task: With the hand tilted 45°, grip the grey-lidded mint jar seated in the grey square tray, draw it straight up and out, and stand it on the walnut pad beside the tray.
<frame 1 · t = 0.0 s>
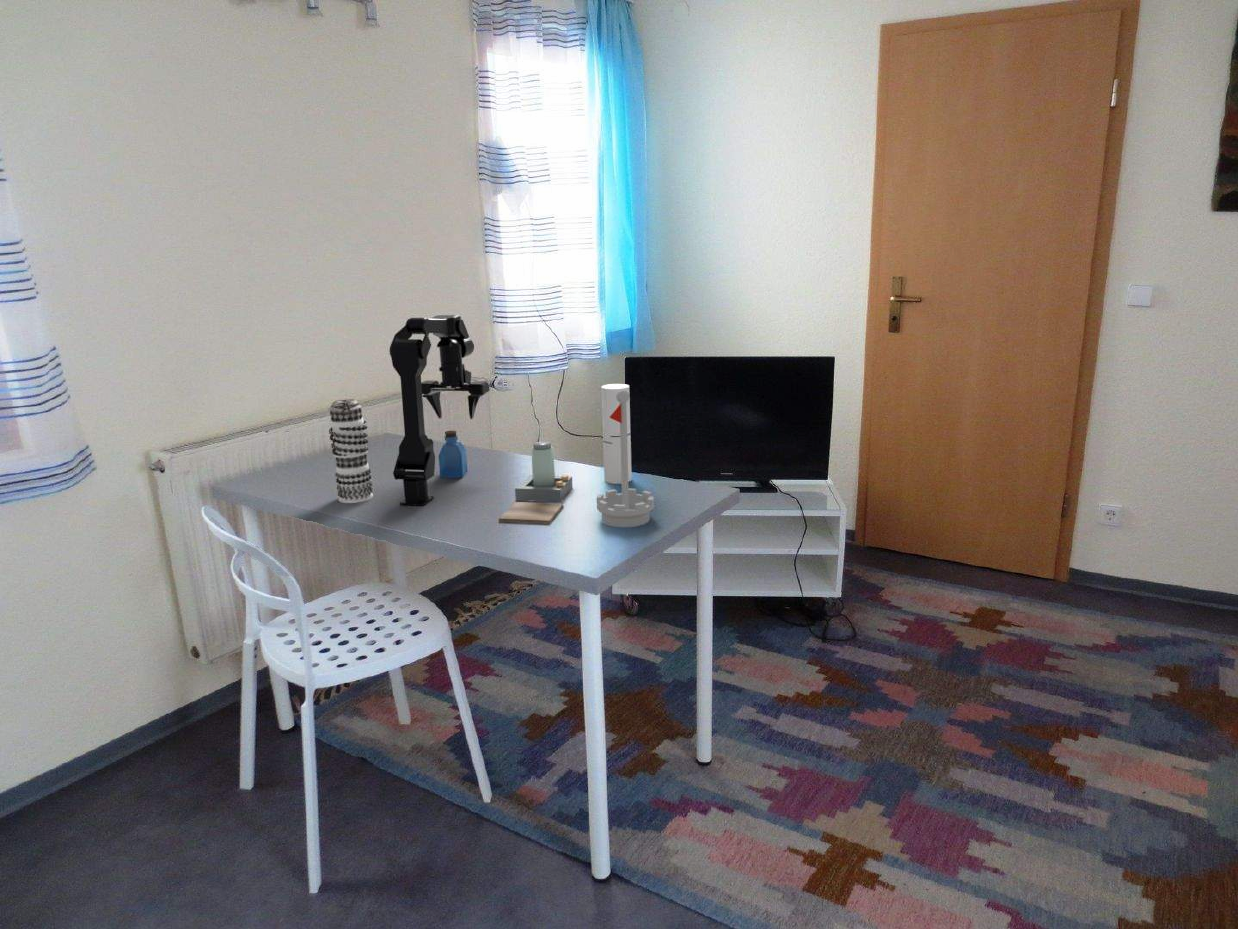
hand: (455, 418, 234), 15 cm above the table, tool pointing down, fingers open, 9 cm apart
cylindrical container: (618, 480, 225), on the table
flag stand: (625, 520, 195), on the table
grey-lidded mint jar: (544, 493, 215), resting in grey square tray
walnut pad: (532, 514, 200), on the table
perfume bottle: (454, 475, 234), on the table
decorative candle: (356, 498, 216), on the table
grey square tray: (544, 493, 215), on the table
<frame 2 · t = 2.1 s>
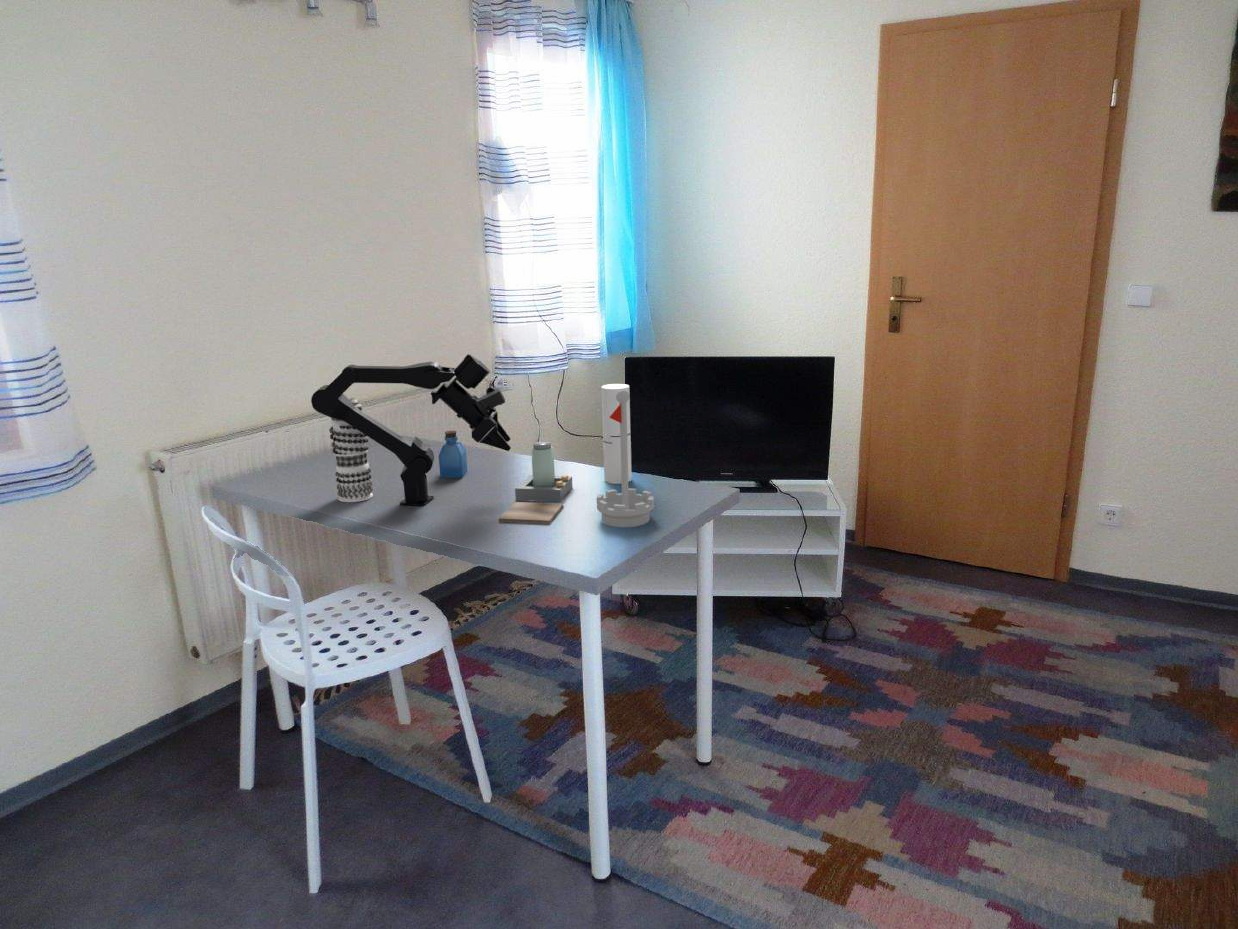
hand: (509, 444, 211), 13 cm above the table, tool tilted 45°, fingers open, 9 cm apart
decorative candle: (356, 498, 216), on the table, touching arm
everything else where it was.
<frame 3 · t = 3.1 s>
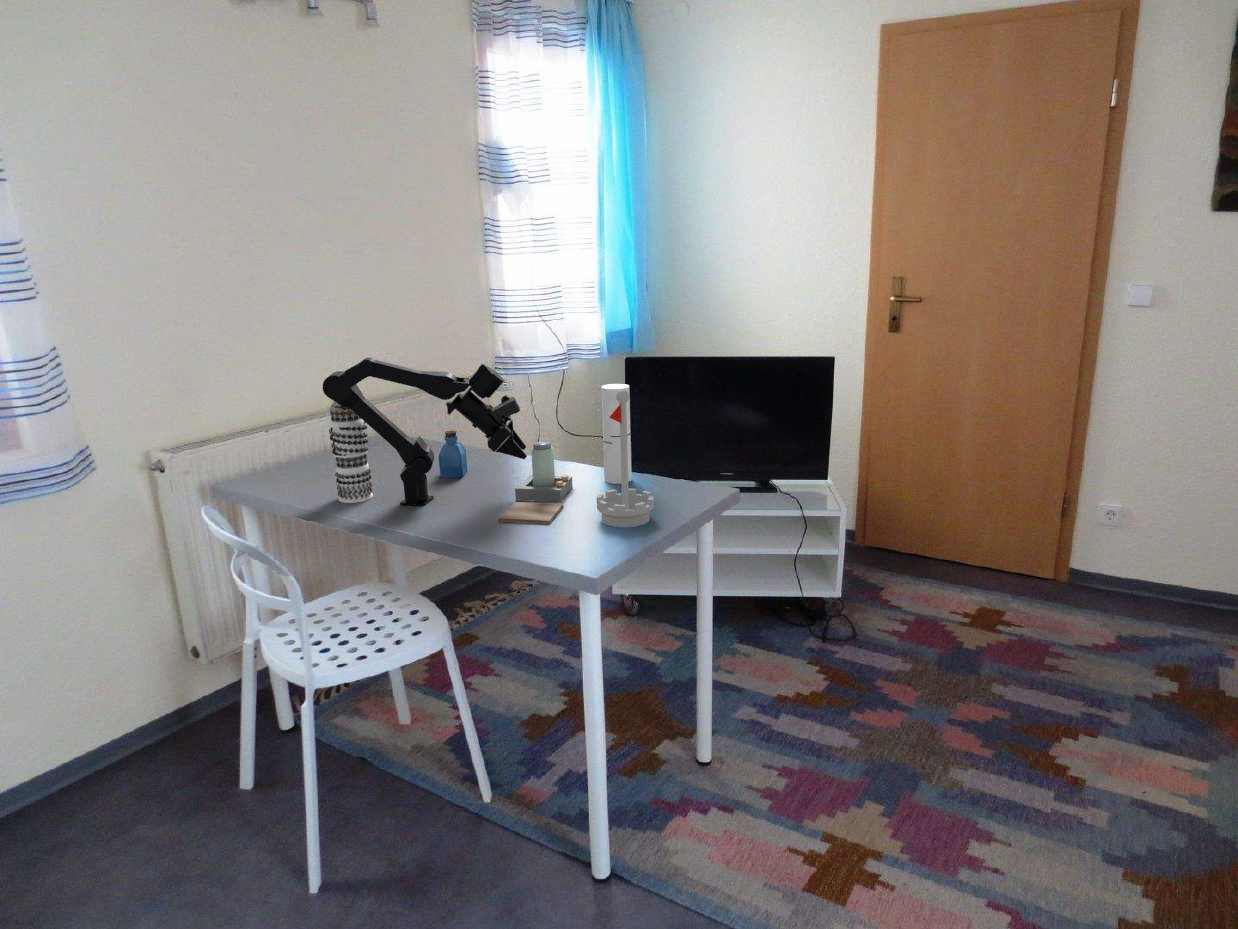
hand: (525, 452, 212), 11 cm above the table, tool tilted 45°, fingers open, 9 cm apart
decorative candle: (356, 498, 216), on the table
everything else where it was.
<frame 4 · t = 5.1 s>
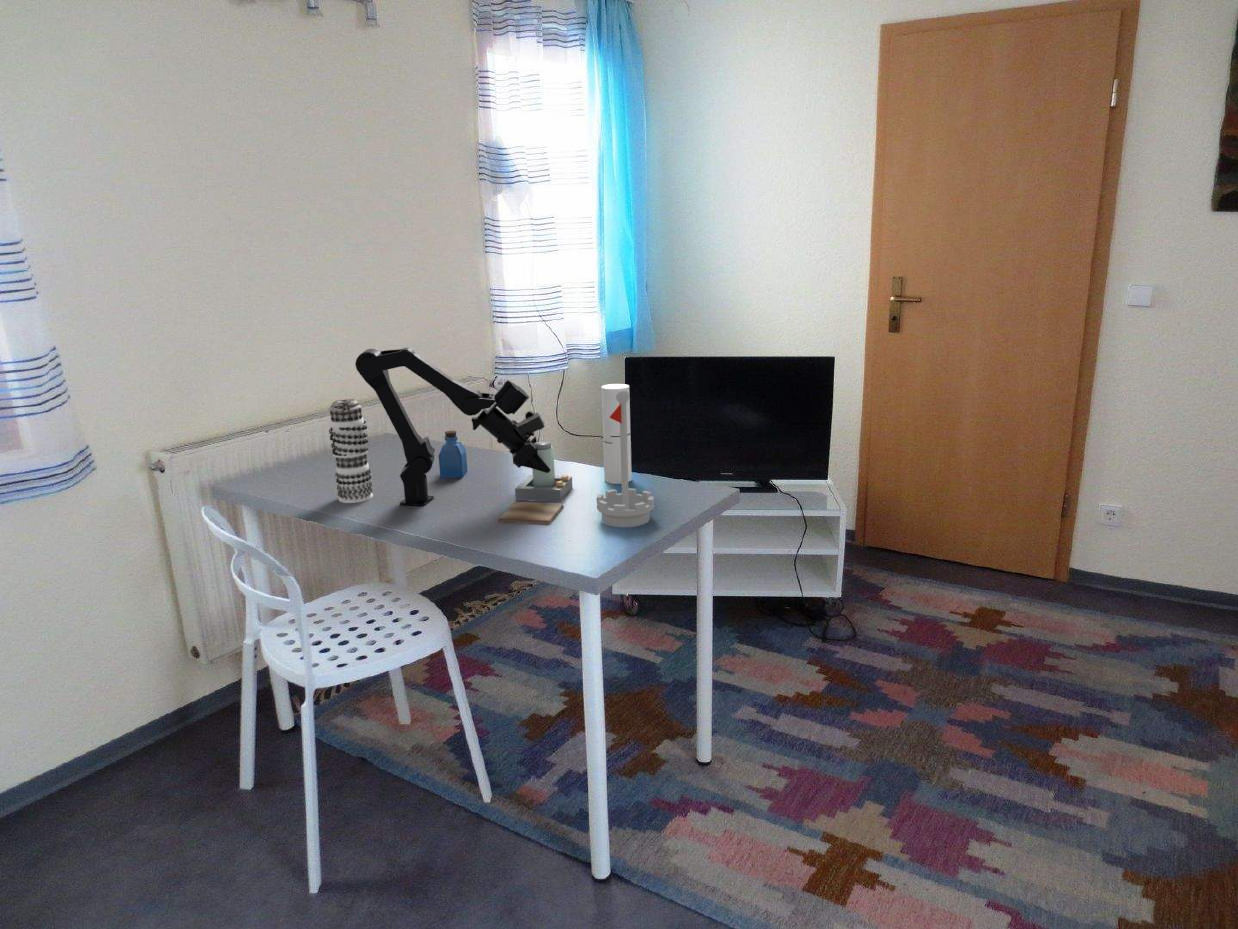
hand: (548, 468, 213), 7 cm above the table, tool tilted 45°, fingers closed on grey-lidded mint jar, 5 cm apart
grey-lidded mint jar: (544, 493, 215), resting in grey square tray, touching gripper
everything else where it was.
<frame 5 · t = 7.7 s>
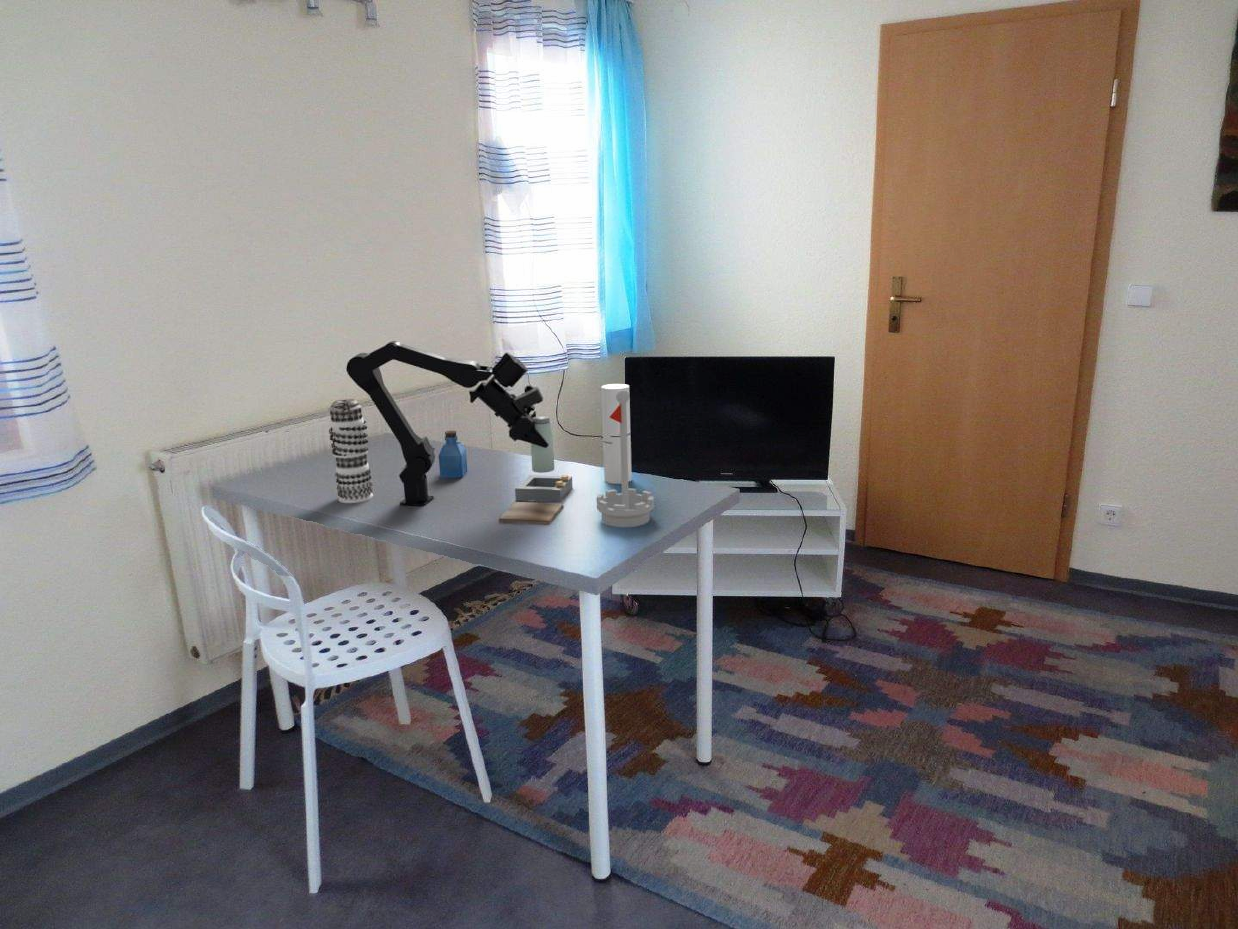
hand: (547, 443, 210), 13 cm above the table, tool tilted 45°, fingers closed on grey-lidded mint jar, 5 cm apart
grey-lidded mint jar: (543, 469, 212), point 7 cm above the table, touching gripper
everything else where it was.
when the fingers open (8 cm above the table, at t = 10.5 s): grey-lidded mint jar drops 1 cm, resting on walnut pad.
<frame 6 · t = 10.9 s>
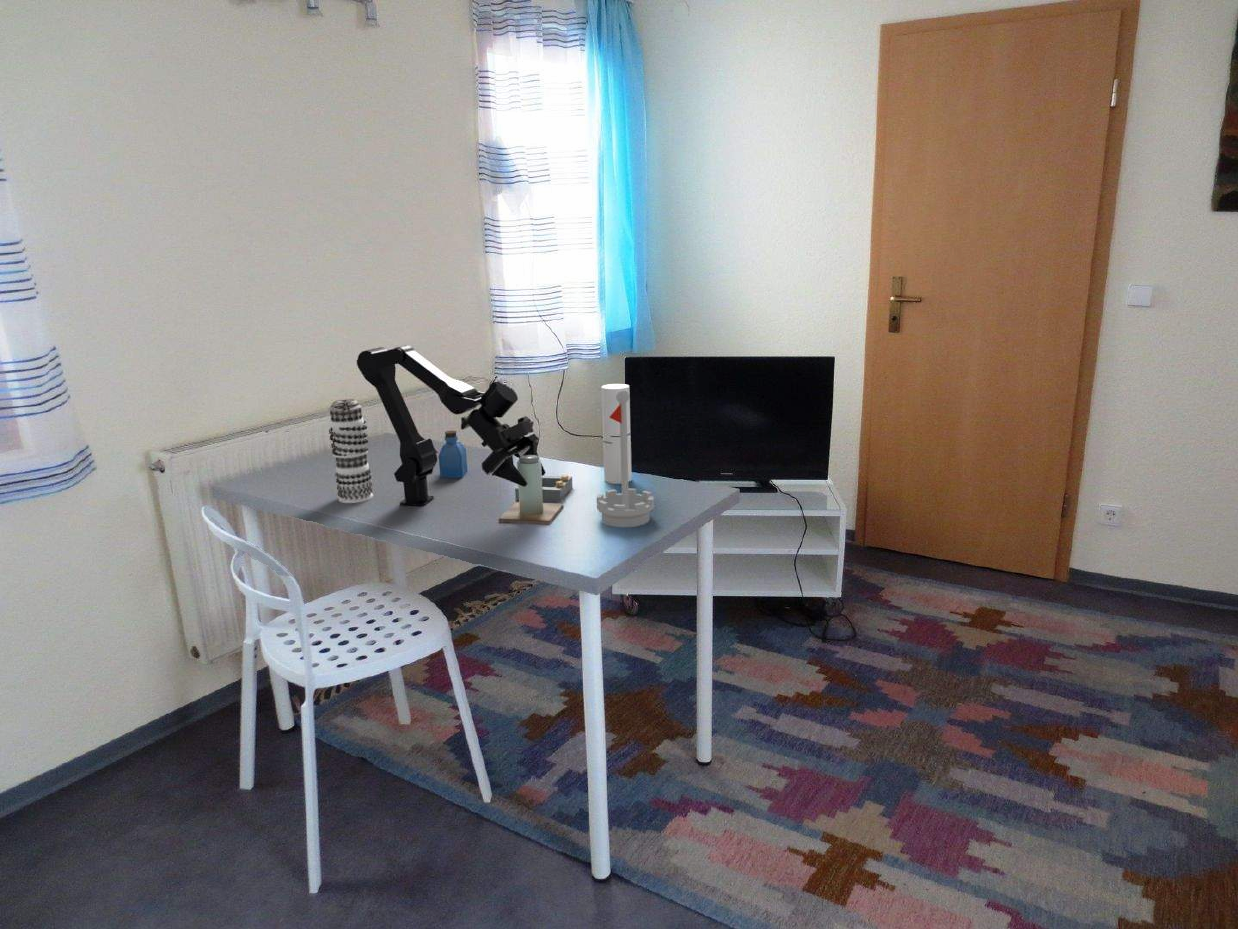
hand: (535, 479, 197), 9 cm above the table, tool tilted 45°, fingers open, 9 cm apart
grey-lidded mint jar: (531, 510, 200), point 1 cm above the table, touching walnut pad
everything else where it was.
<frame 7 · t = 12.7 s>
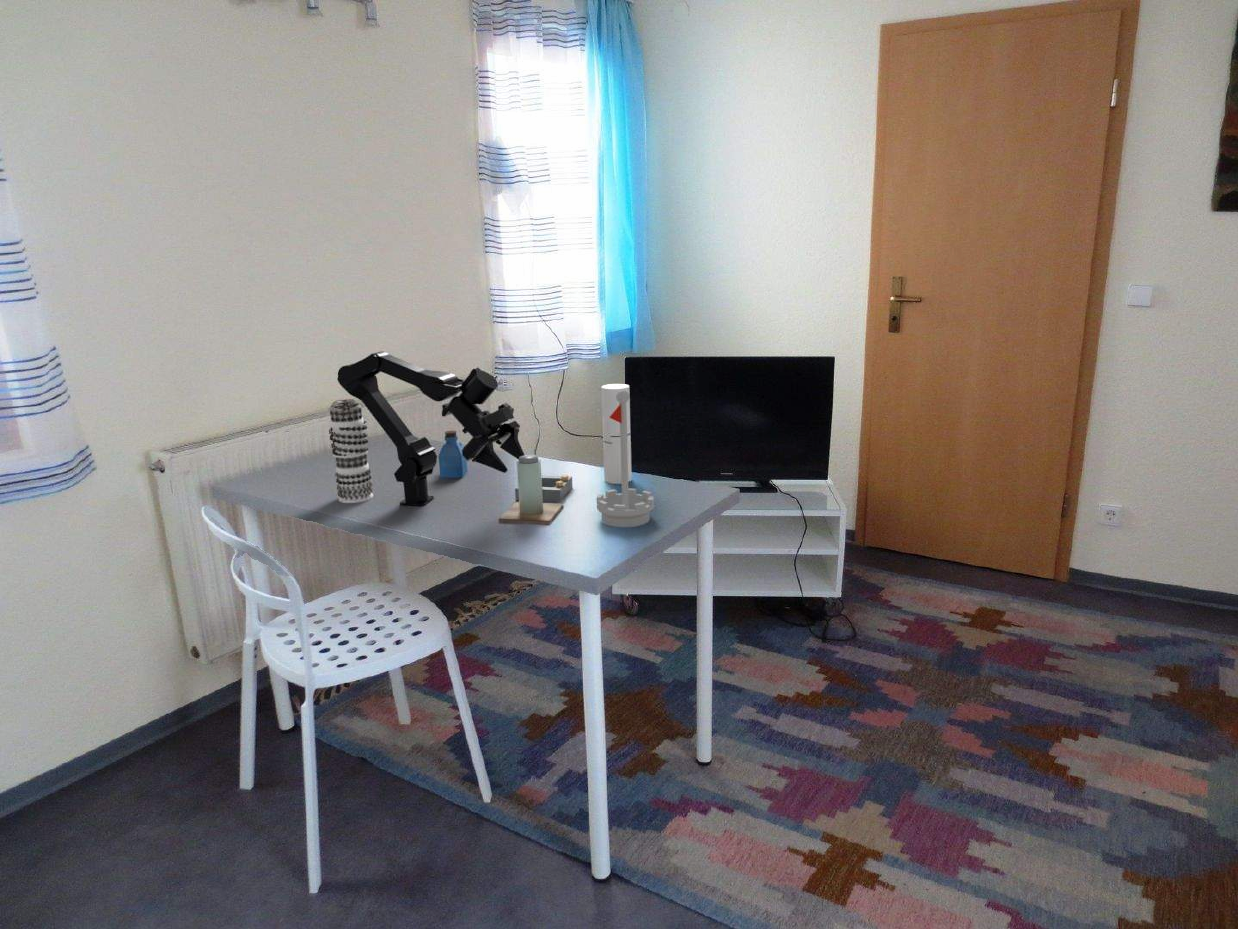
hand: (515, 466, 198), 11 cm above the table, tool tilted 45°, fingers open, 9 cm apart
nothing on the table moved.
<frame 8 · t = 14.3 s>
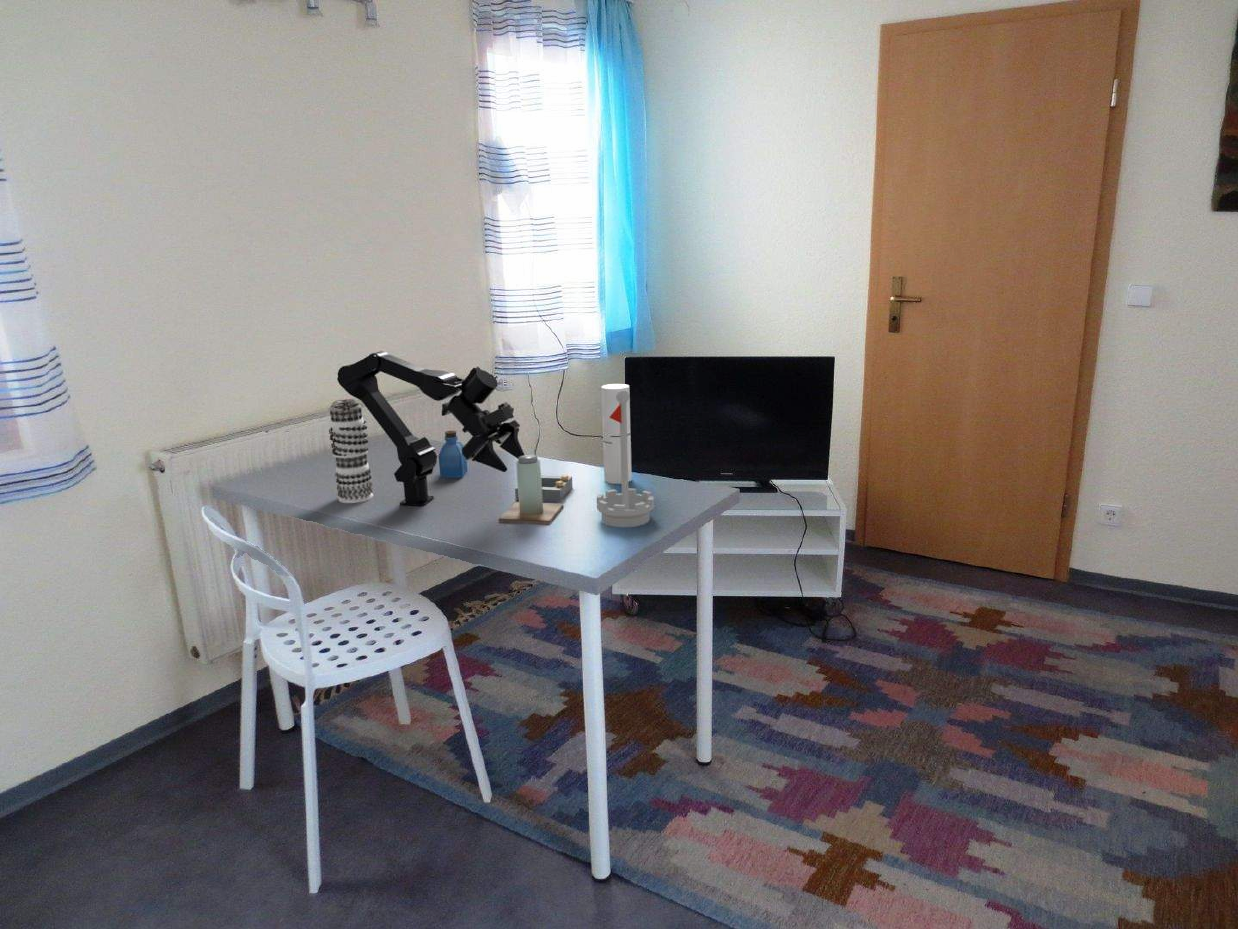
hand: (515, 465, 198), 12 cm above the table, tool tilted 45°, fingers open, 9 cm apart
nothing on the table moved.
at the end: grey-lidded mint jar inside the target area on the walnut pad (0.1 cm from its centre), point 0.8 cm above the walnut pad's base; grey-lidded mint jar tilted 1°; the gripper is holding nothing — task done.
